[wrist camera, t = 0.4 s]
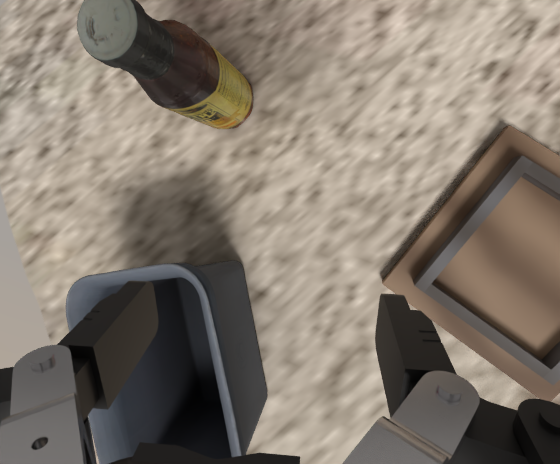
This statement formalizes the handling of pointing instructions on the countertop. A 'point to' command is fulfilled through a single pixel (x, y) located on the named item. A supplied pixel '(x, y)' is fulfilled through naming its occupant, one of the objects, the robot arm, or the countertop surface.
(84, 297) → the storage bin
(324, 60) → the countertop surface
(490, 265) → the socket board
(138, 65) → the sauce bottle
